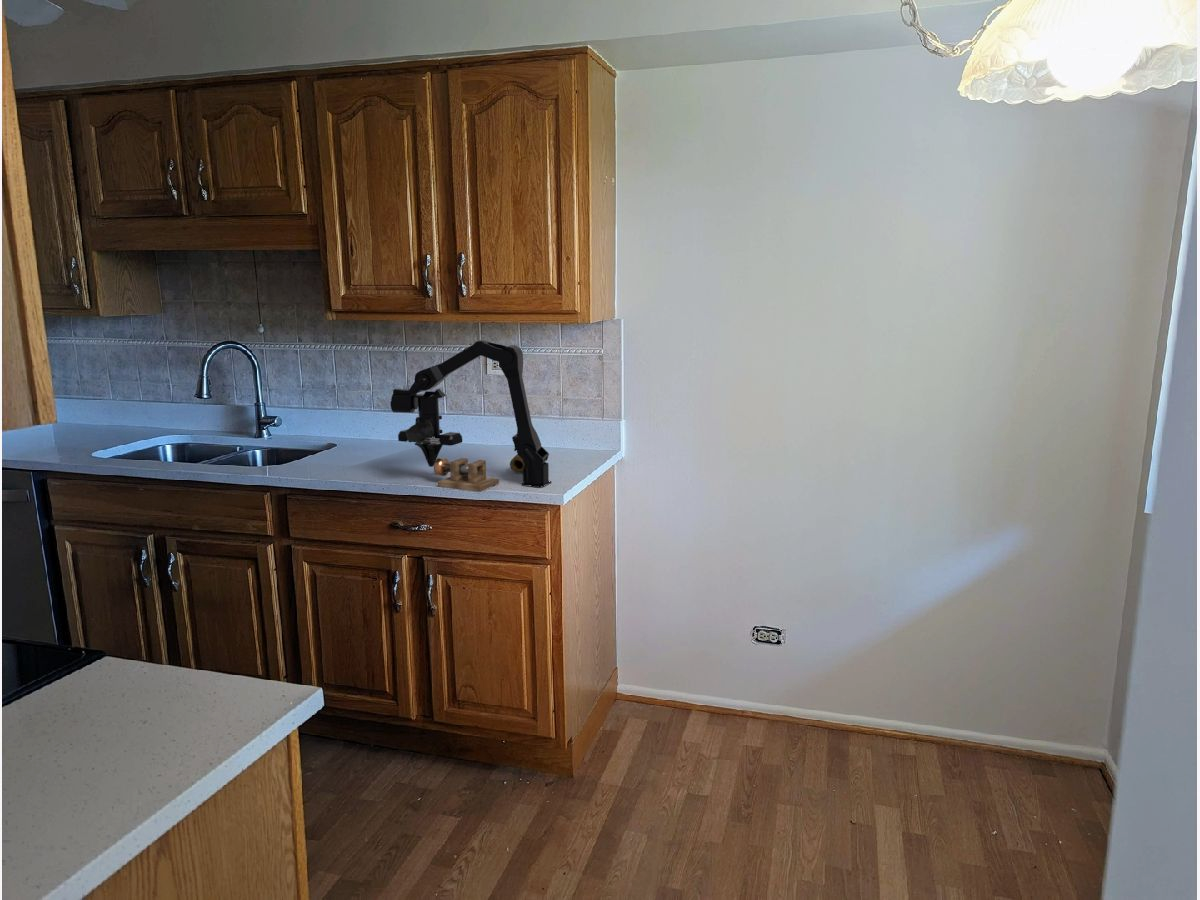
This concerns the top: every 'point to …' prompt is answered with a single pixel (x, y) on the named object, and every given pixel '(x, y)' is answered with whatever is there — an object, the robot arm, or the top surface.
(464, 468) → the shaft
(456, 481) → the bearing stand
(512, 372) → the robot arm
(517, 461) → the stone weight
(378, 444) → the top surface
